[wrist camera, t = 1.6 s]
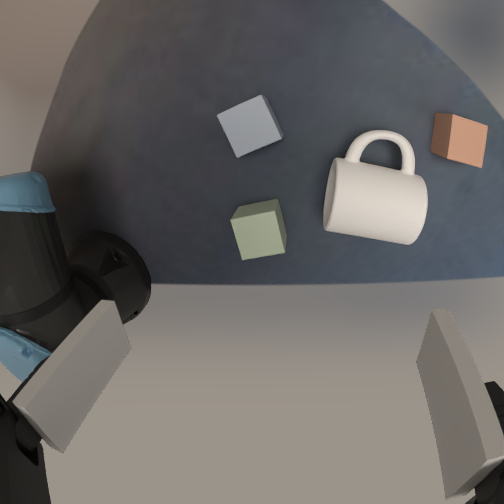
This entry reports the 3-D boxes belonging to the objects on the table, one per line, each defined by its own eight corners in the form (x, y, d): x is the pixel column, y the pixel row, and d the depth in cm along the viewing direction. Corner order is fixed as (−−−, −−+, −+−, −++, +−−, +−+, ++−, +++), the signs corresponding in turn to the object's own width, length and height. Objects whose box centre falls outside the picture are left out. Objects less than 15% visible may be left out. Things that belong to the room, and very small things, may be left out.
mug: (395, 229, 37) (414, 257, 30) (321, 216, 38) (325, 242, 31) (416, 137, 32) (443, 145, 25) (336, 119, 33) (346, 121, 26)
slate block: (245, 151, 36) (237, 157, 31) (227, 114, 34) (216, 115, 30) (284, 135, 34) (281, 138, 30) (266, 97, 33) (261, 94, 28)
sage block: (249, 242, 41) (242, 260, 36) (238, 206, 39) (230, 219, 35) (286, 235, 40) (284, 252, 35) (278, 198, 38) (274, 210, 33)
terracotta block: (430, 151, 32) (447, 158, 28) (434, 112, 30) (452, 114, 26) (462, 160, 32) (481, 168, 27) (467, 122, 29) (487, 126, 25)
